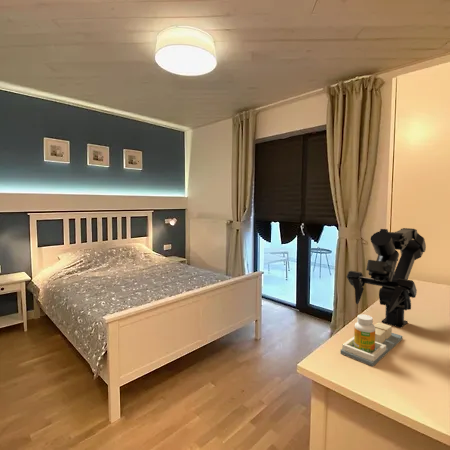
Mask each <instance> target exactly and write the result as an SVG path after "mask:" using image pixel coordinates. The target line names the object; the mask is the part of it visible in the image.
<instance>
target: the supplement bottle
mask: <svg viewBox="0 0 450 450" xmlns="http://www.w3.org/2000/svg"><path fill="white" fill-rule="evenodd" d="M356 319H357V322H355V323H354V333H353V335H354V336H353V337H354V348H357V349H359V350H362V351H365V352H367V353H370V354H372V353H373V352H375V326H374V325H375V324H374V323H373V322H374V317H372V316H371V315H369V314H365V313H364V314H363V313H362V314H358V315H357V317H356Z"/></svg>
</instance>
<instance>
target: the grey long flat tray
mask: <svg viewBox="0 0 450 450" xmlns="http://www.w3.org/2000/svg"><path fill="white" fill-rule="evenodd" d="M373 325H374V326H375V352H373V353H372V354H370V353H367V352H365V351H362V350H359V349H357V348H354V336H352V337H350V338H349V339H347V341H345V342H344V343H343V344H342V348H341V349H340V354H341V355H343V356H346V357H348V358H350V359H354V360H355V361H359V362H361V363H363V364H366V365H368V366H370V367H374V366H375V365H377V363H379V362H380V361H381V360H382V359H383V358H384V357H385V356H386V355H387V354H388V353H389V352H390V351H392V349H394V347H396V346H397V344H399V343H400V342H401V341H402V340H403V335H401V334H397V333H394V332H392V329H393V328H392V326H393V325H389V324H386V323H383V322H377V323H375V324H373Z"/></svg>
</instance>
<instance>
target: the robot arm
mask: <svg viewBox="0 0 450 450" xmlns="http://www.w3.org/2000/svg"><path fill="white" fill-rule="evenodd" d="M370 242H371V244H372V247H373V250H374V252H375V254H377V257H376V260H374V259H368V260H367V265H366V269H365V270H366V271H368V275H369V276H370V277H367V276H364V274H363V273H362V271H357V270H349V271H348V272H347V275H346V278H347V281H348V282H349V284H350V285H351V286H353V288H354V295H355V296H354V297H355V304H356V305H359V303H360V301H361V299H362V298H361V297H362V296H363V293H364V289H365V288H364V286H365V284H368V285H372V286H373V285H374V286H378V287H380V288H379V291H378V297H379V298H378V299H379V305H382V306H385V318H383V319H381V323H383V324H386V325H389V326H393V327H396V328H401V329H402V328H403V327H405V325H407V324H408V320H405V311H408V310H409V311H410V310H412V301H411V298H412V299H413V298H416V296H417V291H418V290H417V287H416V284H415V281H413V279H412V280H411V279H409V276H410V274H411V271H412V268H413V266H414V264H415V261H416V260H418V259H421V258H422V256H423V254H424V253H425V252H426V247H427V246H426V241H425V238H424V237H423V236H422V235H421V234H419V233H418V229H415V228H407V227H402V228H400V229H399V230H397V231H393V232H392V231H389V230H388V228H380V230H379V231H376V232H374V233H373V234H372V235H371V236H370ZM398 251H400V252H398Z"/></svg>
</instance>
